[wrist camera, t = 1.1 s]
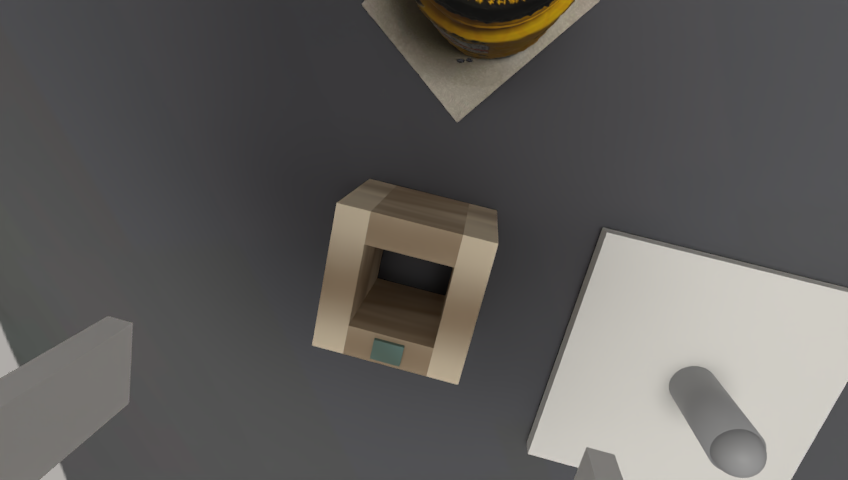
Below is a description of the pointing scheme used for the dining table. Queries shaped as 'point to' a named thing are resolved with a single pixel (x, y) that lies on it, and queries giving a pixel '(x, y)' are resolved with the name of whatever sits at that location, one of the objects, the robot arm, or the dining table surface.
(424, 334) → the wooden hollow block
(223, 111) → the dining table surface
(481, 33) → the condiment
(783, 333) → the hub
